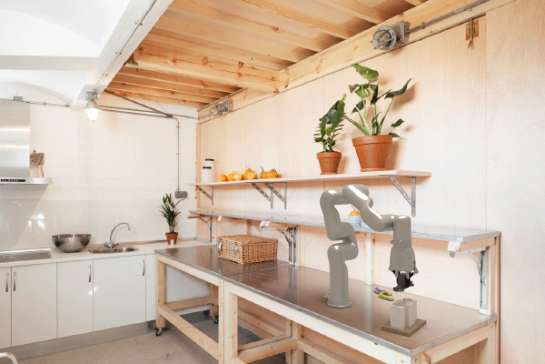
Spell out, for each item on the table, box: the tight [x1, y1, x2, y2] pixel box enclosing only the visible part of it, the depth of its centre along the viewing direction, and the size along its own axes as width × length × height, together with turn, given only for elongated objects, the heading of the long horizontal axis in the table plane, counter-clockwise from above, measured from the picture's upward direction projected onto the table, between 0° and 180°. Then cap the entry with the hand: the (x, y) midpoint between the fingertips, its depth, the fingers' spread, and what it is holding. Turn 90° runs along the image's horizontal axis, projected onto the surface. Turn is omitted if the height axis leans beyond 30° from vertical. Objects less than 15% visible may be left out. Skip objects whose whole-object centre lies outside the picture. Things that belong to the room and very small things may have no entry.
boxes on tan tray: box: [380, 297, 427, 338], centre depth 159 cm, size 12×19×10 cm, turn 138°
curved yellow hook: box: [373, 286, 394, 301], centre depth 209 cm, size 8×3×25 cm
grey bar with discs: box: [392, 271, 415, 293], centre depth 160 cm, size 5×16×6 cm, turn 138°
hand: (403, 286), depth 160 cm, fingers closed on grey bar with discs, 3 cm apart
